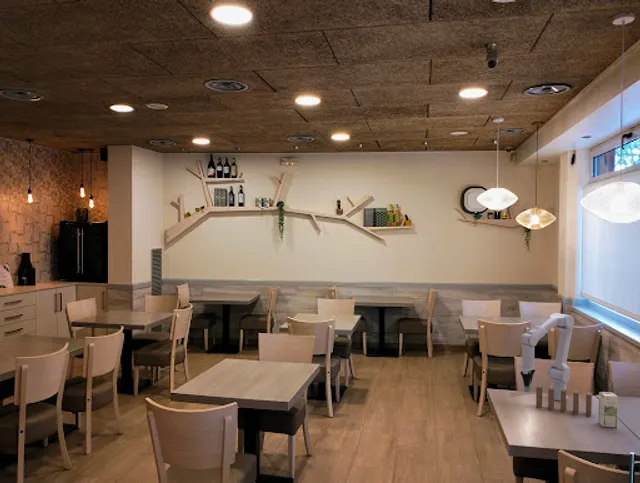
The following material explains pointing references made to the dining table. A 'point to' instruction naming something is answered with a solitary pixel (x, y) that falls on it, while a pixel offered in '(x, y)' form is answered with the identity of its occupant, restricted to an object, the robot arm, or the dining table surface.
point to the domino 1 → (529, 386)
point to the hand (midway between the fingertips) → (527, 385)
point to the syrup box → (608, 409)
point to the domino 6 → (588, 404)
